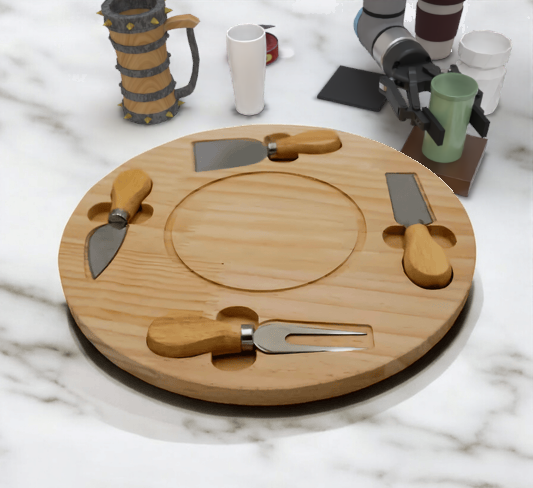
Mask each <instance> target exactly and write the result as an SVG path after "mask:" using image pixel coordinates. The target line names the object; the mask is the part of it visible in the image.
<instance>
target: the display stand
mask: <svg viewBox="0 0 533 488" xmlns="http://www.w3.org/2000/svg"><path fill="white" fill-rule="evenodd" d="M423 137H424V131H422V130H421V129H420V128H419V127H418V126H413V128H412V129H411V131H410V133H409V135H408V137H407V139H406V140H405V142H404V144H403V146H402V148H401V149H400V151H399V153H400V152H402V153H404V154H405V155H407V156H409V157H411V158H412V159H414V160H416V161H418V162H419V163H421V164H422V165H424V166H425V167H427V168H428V169H430V170H431V171H432V172H433V173H435V174H436V175H437V176H438V177H440V178H441V179H442V180H443V181H444V182H445V183H446V184H447V185H448V186H449V187H450V188H451V189H452V190H453V192H454V193H455V194H454V193H453V194H454V195H458V196H462V197H466V198H468V197H469V194H470V191H471V189H472V186H473V184H474V181H475V178H476V176H477V173H478V170H479V168H480V166H481V163H482V161H483V158H484V157H485V153H486V149H487V145H488V140H489V138H487V137H484V138H482V137H481V136H476V135H471V134H469V133H467V135H466V140H465V144H464V149H463V154H462V156H461V157H460V158H459V159H458V160H456V161H454V162H449V163H441V162H436V161H433V160H430V159H429V158H427V157H426V156H425V155H424V154H423V152H422V143H423Z"/></svg>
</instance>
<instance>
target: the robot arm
mask: <svg viewBox="0 0 533 488" xmlns="http://www.w3.org/2000/svg"><path fill="white" fill-rule="evenodd" d="M406 9H407V0H362V7H361V8H359V10H358V11H357V13H356V15H355V17H354V19H353V25H352V26H353V31H354V34H355V35H356V37H357V39H358V41H359V43H360V45H361V46H362V47H363V48H364V49H365V50H366V51H367V53H368V54H369V55H370V57H372V59H373V60H374V61H375V63H376V64H377V65H378V67H379V68H380V69H381V70H382V72H383V74H385V75H386V76H381V77H380V83H379V92H381V93H382V94H383V95H385V96H386V98H387V99H386V101H387V102H388V104H389V105H390V107H391V109H392V111H393V112H394V115H395V116H396V118H397V120H398V121H399V122H405V121H407V120H410V126H413V127H414V126H418V127H419V128H420V129H421V130H422V131H425V130H426V131H427V133H428V134H429V135H430V137H431V138H432V139H433V141H434V142H435V143H436V145H437V146H442V145H443V140H444V135H445V129H444V128H443V126H442V125H441V124H440V123H439V121H438V120H437V119H436V118H435V116H434V115H433V114H432V113H431V111H430V110H429V109H428V106H422V107H421V101H420V100H421V99H420V93H423V92H428V93H430V94H431V88H430V86H431V81H432V79H433V78H434V77H435V76H437V75H440V74H443V73H460V74H462V73H461V72H460V71H459V69H458V67H457V65H456V63H451V64H450V65H449V68H441V66H439V65H437V64H435V63H433V60H431V57H430V55H429V54H428V52H427V51H426V50H425V49H424V48H423V47H422V46H421V45H420V43H419V42H418V41H417V40H416V39H415V37H414V35H413V34H411V32H410V31H409V29H407V28H406V27H405V24H404V22H405V21H404V20H405V14H406ZM400 89H401V90H403V91H405V93H406V100H407V102H406V100H405V98H404V96H403V94H402V93H401V91H400ZM482 97H483V92H482V91H481V90H480V89H479V88H478V92H477V94H476V96H475V99H474V104H473V108H472V113H471V117H470V122H469V125H470V126H471V127H472V128H473V129H474V130H475V132H476V133H477V134H478V135H479V137H481V138H487V137H488V133H489V129H490V125H491V121H490V119H488V118H487V117H486V116H487V115H484V110H483V109H482V108H481V107H480V106H481V102H482Z"/></svg>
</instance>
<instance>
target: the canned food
mask: <svg viewBox="0 0 533 488" xmlns="http://www.w3.org/2000/svg"><path fill="white" fill-rule="evenodd" d="M258 25H259V26H261V27H262V28H264V30H268V29H272V28H276V25H273V24H258ZM265 35H266V67H267V66H269V65H271V64H273V63H275V62H276V61H277V59H278V58H279V55H280V54H279V39H278V37H277V36H276V35H275V34H273V33H271V32H268V31H265Z"/></svg>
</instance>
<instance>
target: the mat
mask: <svg viewBox="0 0 533 488" xmlns="http://www.w3.org/2000/svg"><path fill="white" fill-rule="evenodd" d="M381 76H386V75H385V73H379V72H374V71H370V70H365V69H362V68H361V69H360V68H355V67H350V66H347V65H346V66H345V65H341V64H340V65H339V67H337V69H336V70H335V71H334V73H333V74H332V75H331V77H330V78H329V79H328V80H327V82H326V83H325V84H324V86H323V87H322V89H321V90H320V91H319V92H318V94H317V96H316V99H320V100H323V101H329V102H333V103H336V104H342V105H345V106H350V107H353V108H360V109H363V110H367V111H373V112H376V113H379V112H380V110H381V109H382V107H383V106H384V104H385V102H386V101H387V98H386V96H385V95H383V94H382V93H381V92H379V83H380V77H381Z"/></svg>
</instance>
